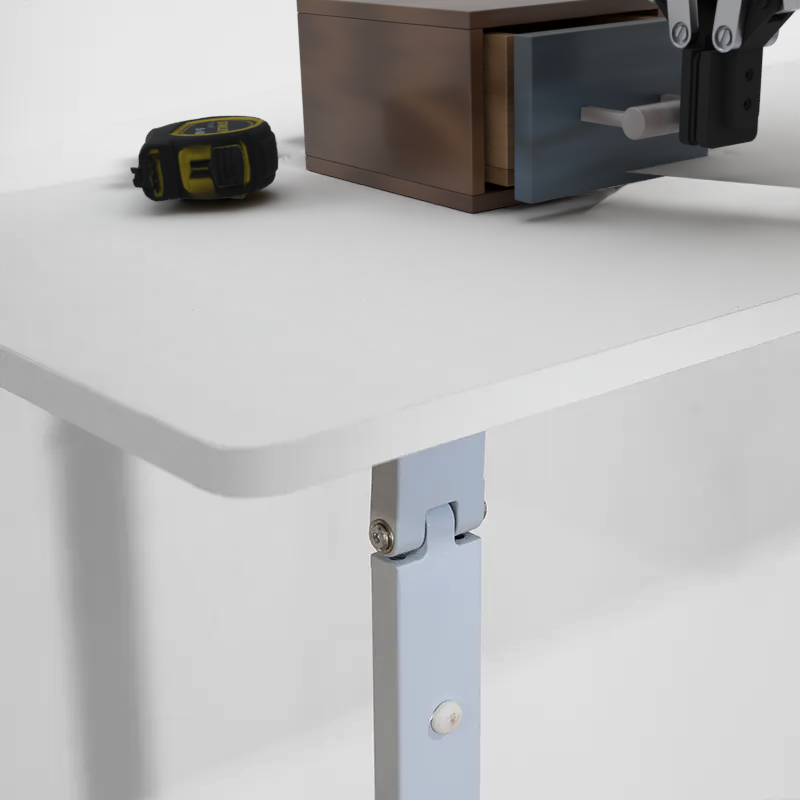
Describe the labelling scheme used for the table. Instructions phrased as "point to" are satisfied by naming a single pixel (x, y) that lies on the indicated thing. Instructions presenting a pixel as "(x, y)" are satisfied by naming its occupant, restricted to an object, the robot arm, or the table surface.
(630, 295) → the table surface
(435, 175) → the cabinet
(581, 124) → the drawer
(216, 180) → the tape measure
